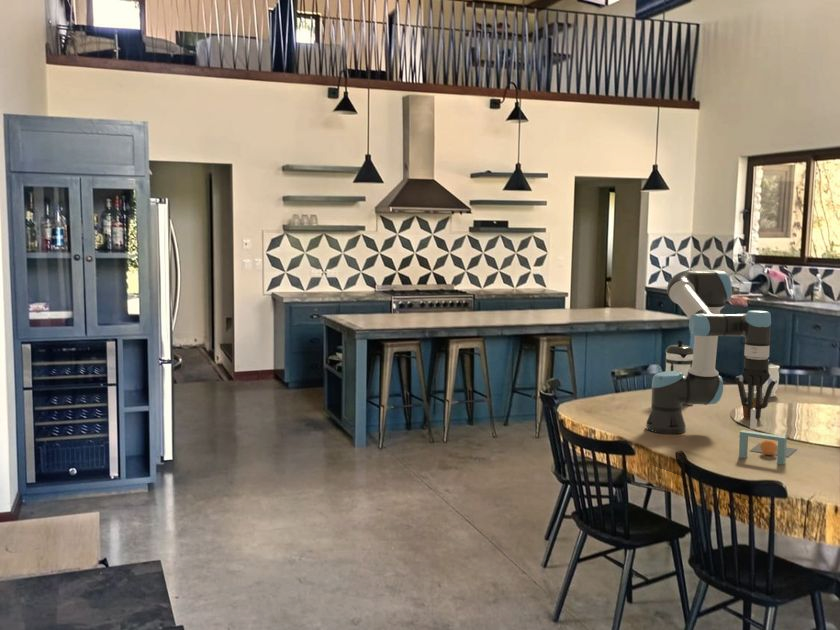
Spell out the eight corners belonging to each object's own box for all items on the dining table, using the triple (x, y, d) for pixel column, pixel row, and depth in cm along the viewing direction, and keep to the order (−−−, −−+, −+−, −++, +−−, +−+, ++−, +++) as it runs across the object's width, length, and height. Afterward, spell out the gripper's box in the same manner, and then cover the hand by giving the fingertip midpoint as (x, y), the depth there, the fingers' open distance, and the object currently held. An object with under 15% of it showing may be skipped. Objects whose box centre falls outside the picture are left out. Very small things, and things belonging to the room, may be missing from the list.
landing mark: (749, 451, 277) (749, 450, 277) (759, 443, 287) (759, 443, 287) (788, 457, 269) (788, 456, 269) (796, 449, 279) (796, 449, 279)
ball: (759, 436, 272) (763, 440, 276) (757, 451, 271) (761, 455, 275) (776, 439, 268) (779, 443, 273) (773, 454, 267) (777, 458, 271)
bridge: (738, 457, 269) (739, 431, 268) (741, 455, 271) (742, 430, 270) (783, 464, 260) (784, 438, 259) (785, 462, 262) (786, 436, 261)
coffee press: (702, 403, 358) (705, 340, 355) (681, 407, 349) (684, 342, 346) (671, 397, 372) (673, 336, 370) (650, 401, 363) (652, 338, 360)
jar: (782, 397, 373) (783, 367, 372) (760, 397, 373) (762, 367, 372) (772, 393, 384) (773, 363, 382) (751, 393, 384) (752, 363, 382)
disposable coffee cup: (738, 419, 326) (739, 392, 325) (740, 415, 334) (741, 388, 333) (762, 422, 321) (764, 394, 320) (764, 417, 330) (765, 390, 329)
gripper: (732, 357, 253) (729, 427, 255) (774, 361, 245) (771, 433, 247) (739, 354, 259) (736, 423, 261) (780, 358, 251) (777, 428, 253)
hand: (753, 427), depth 254 cm, fingers closed
